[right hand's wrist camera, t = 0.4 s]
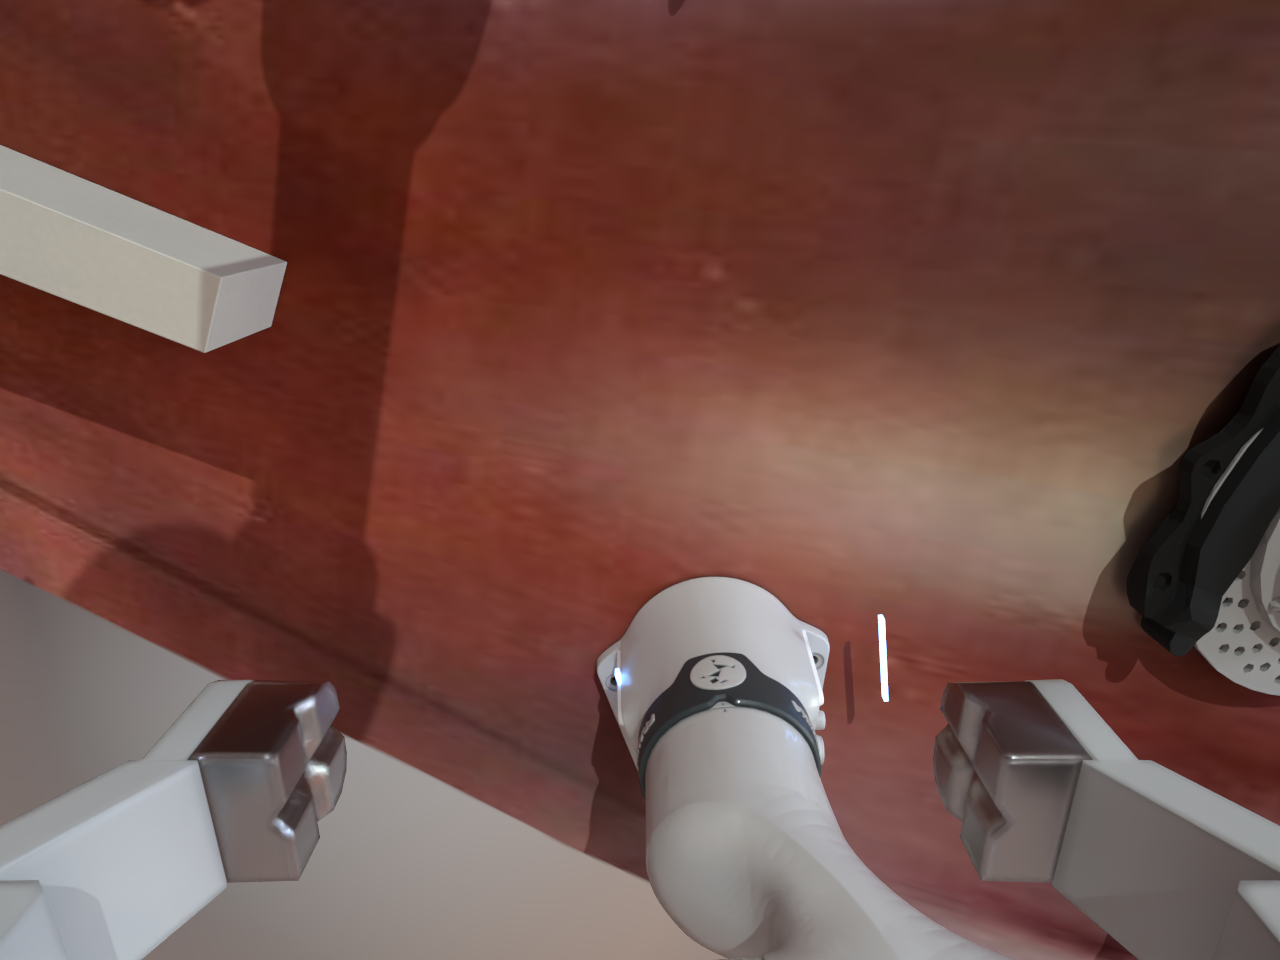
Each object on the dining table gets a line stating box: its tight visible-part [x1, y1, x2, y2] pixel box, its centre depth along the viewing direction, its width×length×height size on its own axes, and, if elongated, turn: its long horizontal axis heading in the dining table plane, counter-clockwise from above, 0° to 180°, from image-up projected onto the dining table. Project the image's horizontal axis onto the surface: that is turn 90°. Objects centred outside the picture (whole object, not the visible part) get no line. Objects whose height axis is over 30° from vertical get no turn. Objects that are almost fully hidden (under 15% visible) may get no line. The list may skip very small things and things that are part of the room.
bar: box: [0, 145, 287, 353], centre depth 48 cm, size 27×5×9 cm, turn 67°
